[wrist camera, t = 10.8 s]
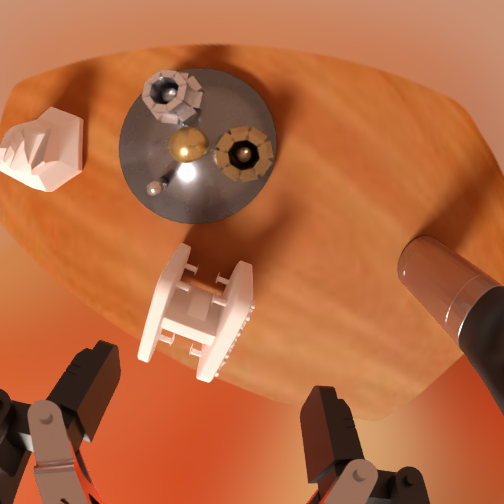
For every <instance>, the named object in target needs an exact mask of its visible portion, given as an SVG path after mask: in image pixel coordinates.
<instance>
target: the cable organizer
mask: <svg viewBox="0 0 504 504" xmlns="http://www.w3.org/2000/svg"><path fill="white" fill-rule="evenodd" d="M190 250H191V246H188V245H186V244H184V243H180V245H179V246H178V248H177V249H176V251H175V252H174V254H173V255H172V257H171V259H170V260H169V262H168V263H167V265H166V267H165V268H164V270H163V271H162V273H161V275H160V278H159V280H158V283H157V285H156V288H155V292H154V295H153V298H152V302H151V305H150V309H149V312H148V316H147V320H146V323H145V327H144V331H143V335H142V339H141V343H140V347H139V351H138V359H140V360H142V361H145V362H149V360H150V359H151V356H152V354H153V352H154V349H155V347H156V344H157V342H158V340H161V341H164V342H167V343H169V344H170V346H171V344H172V343H173V341H174V336H175V333H176V334H179V335H182V336H184V337H187V338H190V339H192V340H195V341H198V342H201V343H203V344H202V349H201V351H199V350H196V349H193V348H192V346H193V344H192V346H191V348H190V352H189V356H190V353H191V354H194V355H197V356H199V357H200V359H199V364H198V370H197V379H199V380H202V381H205V382H210V381H211V380H212V379H213V378H214V376H217V377H218V375H219V370H221V367H222V366H223V364H225V363H226V359H227V358H228V357H229V355H230V352H231V350H232V349H231V348H233V346H234V345H235V343H236V342H235V340H236V341H237V339H238V336H240V334H241V332H242V330H241V329H243V328H244V325H246V323H247V322H246V320H247V321H249V320H250V317H251V314H252V312H253V310H252V308H253V309H254V308H255V306H256V301H255V300H253V270H252V264H249V263H247V262H244V261H242V260H240V261H239V262H238V264H237V265H236V267H235V268H234V270H233V272H232V275H231V277H230V279H229V280H228V279H225V278H223V277H220V276H219V274H218V276H217V278H216V282H215V283H217V281H218V282H221V283H223V284H226V288H225V290H224V292H223V294H222V296H219V295H216V294H214V293H211V292H208V291H206V290H203V289H201V288H198V287H196V286H193V285H191V284H192V282H191V284H188V283H186V282H183V281H180V280H181V277H182V274H183V271H184V269H188V270H190V271H193V272H195V274H196V272H197V270H198V267H195V266H193V265H190V264H188V263H187V261H188V258H189V254H190ZM198 265H199V264H198ZM219 273H220V272H219ZM195 274H194V275H195ZM215 293H216V292H215ZM163 328H164V329H166V330H169V331H171V332H174V335H173V337H172V338H169V337H166V336H164V335H161V332H162V329H163ZM193 343H194V342H193ZM170 346H169V347H170Z"/></svg>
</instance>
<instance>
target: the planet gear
mask: <svg viewBox="0 0 504 504" xmlns="http://www.w3.org/2000/svg"><path fill="white" fill-rule="evenodd" d="M146 81H147V82H145V85H144V89H143V93H142V97H143V98H142V99H143V101H144V102H145V104H146V105H147V106H148V108H149V109H150V110H151V112H152V113H153V115H154V116H155V118H156V119H157V120H160V121H161V122H163V123H169V124H178V125H180V124H181V122H182V123H186V122H188V121H189V120H191V119H192V118H193V117H195V116H196V115H198V112H197V111H196V110H195V109H199V110H201V109H202V105H203V100H204V96H205V94H204V93H203V92H202V91H203V90H204V89H203V88H202V87H201V85H200V84H199V83H198V81H197V80H196V79H195V78H194V76H191V75H190V74H189V73H179V72H177V71H171V70H161V71H158V72H157V73H155V74H154V75H153V76H151V77H150V78H149V79H148V80H146ZM168 88H173V89H174V88H178V92H177V96H176V98H175V99H173V100H172V101H171V102H169V103H168V104H167V105H166V103H165V102H166V101H165V100H164V99H163V92H164V91H165V90H166V89H168Z"/></svg>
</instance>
